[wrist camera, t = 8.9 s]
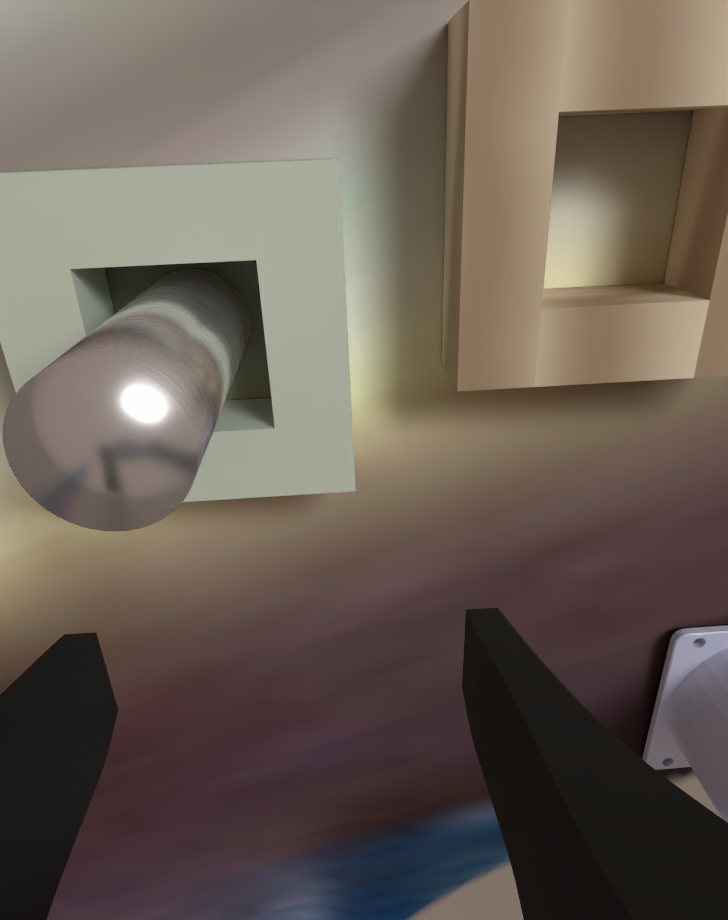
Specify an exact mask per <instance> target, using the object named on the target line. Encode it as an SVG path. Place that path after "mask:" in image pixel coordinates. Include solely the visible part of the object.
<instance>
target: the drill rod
mask: <svg viewBox="0 0 728 920" xmlns="http://www.w3.org/2000/svg"><path fill="white" fill-rule="evenodd" d="M249 337H250V317H249V313H248V309H247V307H246V305H245V302H244V301H243V299H242V297H241V296H240V294H239V293H238V292H237V290H236V289H235V288H234V287H233V286H232V285H231V284H230V283H228V282H227V281H226V280H224V279H223V278H221V277H220V276H218V275H216V274H214V273H211V272H208V271H204V270H200V269H182V270H177V271H174V272H171V273H169V274H167V275H165V276H163V277H162V278H161V279H159V280H158V281H157V282H155V283H154V284H153V285H151V286H150V287H149V288H148V289H146V290H145V291H144V292H142V293H141V294H140V295H139V296H137V297H136V298H135V299H133V300H132V301H131V302H130V303H128V304H127V305H126V306H124V307H123V308H122V309H120V310H119V311H118V312H117V313H115V314H114V315H113V316H111V317H110V318H109V319H108V320H106V321H105V322H104V323H102V324H101V325H100V326H98V327H97V328H96V329H95V330H93V331H92V332H91V333H89V334H88V335H87V336H86V337H84V338H83V339H82V340H80V341H79V342H78V343H76V344H75V345H74V346H73V347H71V348H70V349H69V350H67V351H66V352H65V353H64V354H62V355H61V356H60V357H58V358H57V359H56V360H54V361H53V362H52V363H51V364H49V365H48V366H47V367H45V368H44V369H43V370H42V371H40V372H39V373H38V374H36V375H35V376H34V377H33V378H31V379H30V380H29V381H27V382H26V383H25V384H24V385H23V386H22V387H21V388H20V389H19V390H18V392H17V393H16V395H15V396H14V397H13V399H12V401H11V403H10V405H9V407H8V409H7V413H6V416H5V419H4V427H3V442H4V448H5V453H6V456H7V459H8V462H9V465H10V467H11V469H12V471H13V473H14V475H15V476H16V478H17V479H18V481H19V482H20V484H21V485H22V486H23V488H24V489H25V490H26V491H27V492H28V494H29V495H30V496H31V497H32V498H34V499H35V500H36V501H37V502H38V503H39V504H40V505H42V506H43V507H44V508H46V509H47V510H48V511H50V512H52V513H53V514H55V515H56V516H58V517H60V518H62V519H64V520H66V521H68V522H71V523H74V524H76V525H79V526H82V527H86V528H90V529H95V530H102V531H128V530H134V529H139V528H142V527H145V526H149V525H151V524H153V523H156V522H158V521H160V520H162V519H163V518H165V517H166V516H168V515H169V514H171V513H172V512H173V511H174V510H175V509H176V508H177V507H178V506H179V505H180V504H181V503H182V502H183V501H184V499H185V498H186V496H187V495H188V493H189V491H190V489H191V487H192V485H193V482H194V480H195V477H196V475H197V472H198V469H199V467H200V464H201V462H202V459H203V457H204V454H205V452H206V449H207V446H208V444H209V441H210V439H211V436H212V434H213V431H214V429H215V426H216V423H217V421H218V418H219V416H220V413H221V411H222V408H223V406H224V403H225V400H226V398H227V395H228V393H229V390H230V388H231V385H232V383H233V380H234V377H235V375H236V372H237V370H238V367H239V365H240V362H241V359H242V357H243V354H244V352H245V349H246V347H247V344H248V341H249Z"/></svg>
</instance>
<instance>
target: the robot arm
mask: <svg viewBox="0 0 728 920" xmlns="http://www.w3.org/2000/svg"><path fill="white" fill-rule="evenodd" d="M696 639H697V640H696ZM695 640H696V641H695ZM462 688H463V694H464V699H465V704H466V710H467V715H468V720H469V725H470V730H471V735H472V739H473V742H474V745H475V749H476V752H477V755H478V758H479V762H480V765H481V768H482V771H483V775H484V778H485V781H486V784H487V787H488V791H489V794H490V797H491V800H492V803H493V807H494V810H495V813H496V816H497V819H498V822H499V826H500V829H501V832H502V835H503V838H504V842H505V845H506V848H507V851H508V855H509V859H510V862H511V866H512V870H513V873H514V877H515V880H516V885H517V890H518V895H519V899H520V904H521V908H522V913H523V917H524V920H728V625H726V626H712V627H699V628H685V629H680V630H678V631H676V632H675V633H674V634H673V635H672V637H671V639H670V643H669V647H668V651H667V656H666V660H665V664H664V668H663V673H662V677H661V681H660V685H659V689H658V694H657V698H656V702H655V706H654V711H653V715H652V719H651V723H650V728H649V732H648V736H647V740H646V745H645V749H644V753H643V759H642V758H640V757H639V756H638V755H637V754H636V753H635V752H633V751H632V750H631V749H630V748H629V747H627V746H626V745H625V744H624V743H623V742H622V741H621V740H620V739H618V738H617V737H616V736H615V735H614V734H613V733H612V732H611V731H610V730H609V729H608V728H606V727H605V726H604V725H603V724H602V723H601V722H600V721H599V720H598V719H597V718H596V717H595V716H594V715H593V714H592V713H591V712H590V711H589V710H588V709H587V708H586V707H585V706H584V705H583V704H582V703H581V702H580V701H579V700H578V699H577V698H576V697H575V696H574V695H573V694H572V693H571V692H570V691H569V690H568V689H567V688H566V687H565V686H564V685H563V684H562V682H561V681H560V680H559V679H558V678H557V677H556V676H555V675H554V674H553V673H552V672H551V671H550V669H549V668H548V667H547V666H546V665H545V664H544V663H543V662H542V661H541V659H540V658H539V657H538V656H537V655H536V654H535V652H534V651H533V650H532V649H531V648H530V647H529V645H528V644H527V643H526V642H525V641H524V639H523V638H522V637H521V636H520V635H519V633H518V632H517V631H516V630H515V628H514V627H513V626H512V625H511V623H510V622H509V621H508V620H507V618H506V617H505V616H504V614H503V613H502V612H501V611H500V610H499V609H498V608H486V609H470V610H466V622H465V641H464V661H463V681H462ZM117 712H118V707H117V704H116V700H115V697H114V693H113V690H112V686H111V683H110V679H109V676H108V672H107V669H106V665H105V662H104V658H103V655H102V651H101V648H100V644H99V641H98V637H97V634H96V633H81V634H65V635H63V636H62V637H61V638H60V639H59V640H58V641H57V642H55V643H54V644H53V645H52V646H51V647H50V648H49V649H48V650H47V651H46V652H45V653H44V654H43V655H42V656H41V657H40V658H38V659H37V660H36V661H35V662H34V663H33V664H32V665H31V666H30V667H29V668H28V669H27V670H26V671H25V672H24V673H23V674H22V675H21V676H20V677H19V678H18V679H17V680H16V681H14V682H13V683H12V684H11V685H10V686H9V687H8V688H7V689H6V690H5V691H4V692H3V693H2V694H1V695H0V920H47V916H48V913H49V910H50V907H51V904H52V902H53V899H54V896H55V893H56V890H57V887H58V884H59V882H60V879H61V876H62V874H63V871H64V869H65V866H66V863H67V861H68V858H69V856H70V853H71V851H72V848H73V845H74V843H75V840H76V838H77V835H78V832H79V830H80V827H81V825H82V822H83V819H84V817H85V814H86V812H87V809H88V807H89V804H90V801H91V799H92V796H93V793H94V791H95V788H96V785H97V783H98V780H99V777H100V775H101V772H102V769H103V767H104V764H105V761H106V757H107V753H108V749H109V745H110V742H111V738H112V733H113V729H114V725H115V721H116V716H117ZM683 767H691V768H692V769H693V771H694V773H695V774H696V776H697V778H698V779H699V781H700V783H701V784H702V786H703V788H704V789H705V791H706V793H707V794H708V796H709V797H710V799H711V801H712V803H713V804H714V806H715V808H716V809H717V811H718V813H719V814H720V816H721V817H722V818H720V817H719V816H717V815H716V814H714V813H713V812H712V811H710V810H709V809H707V808H706V807H704V806H703V805H702V804H700V803H699V802H698V801H696V800H695V799H694V798H692V797H691V796H690V795H688V794H686V793H685V792H684V791H683V790H681V789H680V788H679V787H677V786H676V785H674V784H673V783H672V782H670V781H669V780H668V779H666V778H665V777H664V776H663V775H661V774H660V773H659V772H658V771H656V770H658V769H671V768H683Z"/></svg>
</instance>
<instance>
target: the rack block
mask: <svg viewBox="0 0 728 920" xmlns="http://www.w3.org/2000/svg"><path fill="white" fill-rule="evenodd" d="M248 260H256V262H257V272H258V281H259V290H260V299H261V308H262V317H263V326H264V335H265V344H266V353H267V363H268V372H269V381H270V390H271V398H262V399H244V400H227V401H225V403H224V406H223V408H222V411H221V413H220V416H219V418H218V421H217V423H216V426H215V429H214V431H213V434H212V436H211V439H210V441H209V444H208V446H207V449H206V452H205V454H204V457H203V459H202V462H201V464H200V467H199V469H198V472H197V475H196V477H195V480H194V482H193V485H192V487H191V489H190V491H189V493H188V495H187V496H186V498H185V499H184V501H183V502H193V501H209V500H224V499H240V498H256V497H272V496H288V495H304V494H320V493H336V492H352V491H355V471H354V451H353V431H352V411H351V391H350V370H349V350H348V330H347V310H346V290H345V270H344V250H343V230H342V210H341V189H340V169H339V159H337V158H333V159H310V160H286V161H262V162H238V163H214V164H191V165H167V166H143V167H119V168H95V169H72V170H48V171H24V172H0V343H1V346H2V350H3V353H4V356H5V360H6V363H7V366H8V369H9V373H10V376H11V379H12V383H13V386H14V389H15V393H17V392H18V390H19V389H20V388H21V387H22V386H23V385H24V384H25V383H26V382H27V381H29V380H30V379H31V378H33V377H34V376H35V375H36V374H38V373H39V372H40V371H42V370H43V369H44V368H45V367H47V366H48V365H49V364H51V363H52V362H53V361H54V360H56V359H57V358H58V357H60V356H61V355H62V354H64V353H65V352H66V351H67V350H69V349H70V348H71V347H73V346H74V345H75V344H76V343H78V342H79V341H80V340H82V339H83V338H84V337H86V336H87V335H88V334H89V333H91V332H92V331H93V330H95V329H96V328H97V327H98V326H100V325H101V324H102V323H104V322H105V321H106V320H108V319H109V318H110V317H111V316H113V315H114V314H115V313H114V309H113V304H112V299H111V295H110V290H109V285H108V281H107V276H106V272H105V267H124V266H145V265H165V264H186V263H207V262H228V261H248Z"/></svg>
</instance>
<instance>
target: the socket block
mask: <svg viewBox="0 0 728 920" xmlns="http://www.w3.org/2000/svg"><path fill="white" fill-rule="evenodd" d="M674 111H694V112H693V118H692V124H691V129H690V135H689V141H688V147H687V152H686V158H685V164H684V170H683V176H682V181H681V187H680V193H679V199H678V205H677V210H676V216H675V222H674V228H673V234H672V239H671V245H670V251H669V257H668V263H667V268H666V274H665V280H664V283H652V284H633V285H613V286H593V287H574V288H554V289H543V286H544V275H545V264H546V252H547V241H548V230H549V219H550V207H551V196H552V185H553V174H554V162H555V151H556V140H557V129H558V117H559V116H574V115H599V114H624V113H649V112H674ZM442 365H443V367H444V369H445V371H446V372H447V374H448V376H449V378H450V379H451V381H452V383H453V385H454V386H455V388H456V390H457V391H474V390H491V389H509V388H526V387H544V386H561V385H579V384H596V383H614V382H632V381H649V380H667V379H684V378H702V377H719V376H728V0H469V1H468V2H467V3H466V4H465V5H464V6H463V7H462V8H461V9H460V10H459V11H458V12H457V13H456V14H455V15H454V16H453V17H452V18H451V20H450V21H449V22H448V67H447V120H446V173H445V226H444V279H443V332H442Z"/></svg>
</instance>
